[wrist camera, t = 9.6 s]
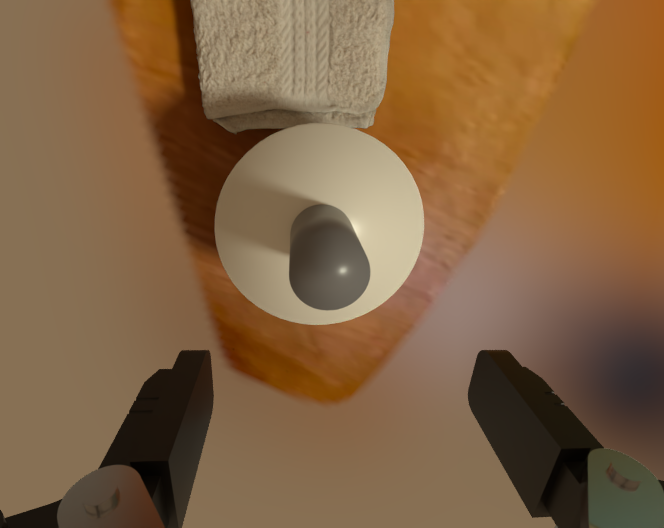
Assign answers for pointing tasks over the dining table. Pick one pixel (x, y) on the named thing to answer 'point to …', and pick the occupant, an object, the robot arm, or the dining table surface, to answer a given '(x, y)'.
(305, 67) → the washcloth
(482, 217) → the dining table surface
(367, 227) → the lid
